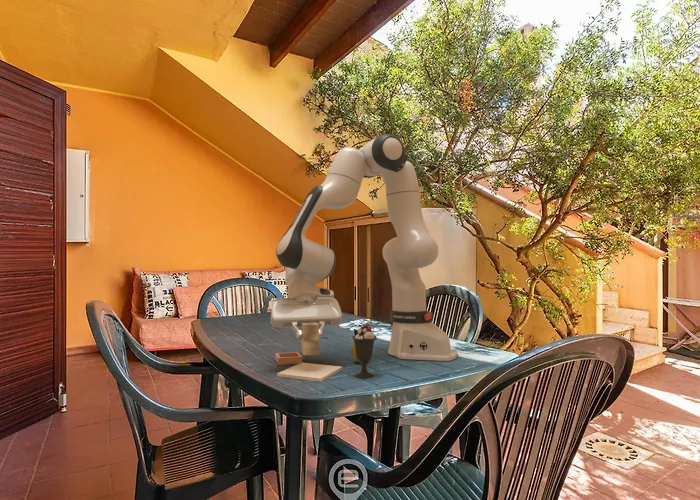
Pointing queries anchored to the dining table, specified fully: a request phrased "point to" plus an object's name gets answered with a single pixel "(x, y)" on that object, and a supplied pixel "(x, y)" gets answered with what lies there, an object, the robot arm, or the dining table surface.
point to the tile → (310, 372)
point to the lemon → (355, 352)
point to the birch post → (310, 338)
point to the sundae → (364, 348)
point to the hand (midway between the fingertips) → (309, 336)
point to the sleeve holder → (288, 358)
